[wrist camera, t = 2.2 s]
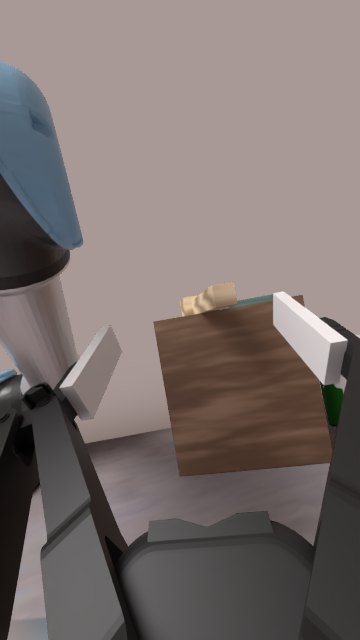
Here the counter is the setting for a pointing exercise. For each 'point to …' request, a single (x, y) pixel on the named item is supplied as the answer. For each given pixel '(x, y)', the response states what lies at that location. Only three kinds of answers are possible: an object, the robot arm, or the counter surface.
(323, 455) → the walnut shelf
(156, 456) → the counter surface
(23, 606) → the counter surface
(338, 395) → the milk carton
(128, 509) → the counter surface
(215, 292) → the oak bar
